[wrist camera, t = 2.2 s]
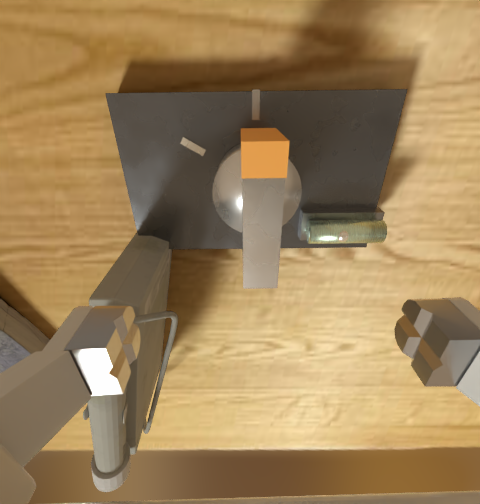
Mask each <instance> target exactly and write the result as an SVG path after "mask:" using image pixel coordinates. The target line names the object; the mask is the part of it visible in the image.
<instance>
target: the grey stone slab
mask: <svg viewBox="0 0 480 504" xmlns="http://www.w3.org/2000/svg"><path fill="white" fill-rule="evenodd" d="M49 341H50V339H49V338H47V337H46V336H45V335H44V334H43V333H42V332H41V331H40V330H39V329H37V328H36V327H35V326H34V325H33V324H32V323H31V322H30V321H29V320H27V319H26V318H25V317H23V316H21V315H20V314H19V313H18V312H17V311H16V310H14V309H13V308H12V307H9V306H8V305H7V304H6V303H5V302H4V301H3V300H2V299H0V373H2V372H3V371H5V370H7V369H8V368H10V367H11V366H13V365H15V364H16V363H18V362H20V361H21V360H23V359H24V358H26V357H28V356H29V355H31V354H32V353H34V352H36V351H42V350H43V349H44V347H45V346H46V345H47V343H48V342H49Z"/></svg>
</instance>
